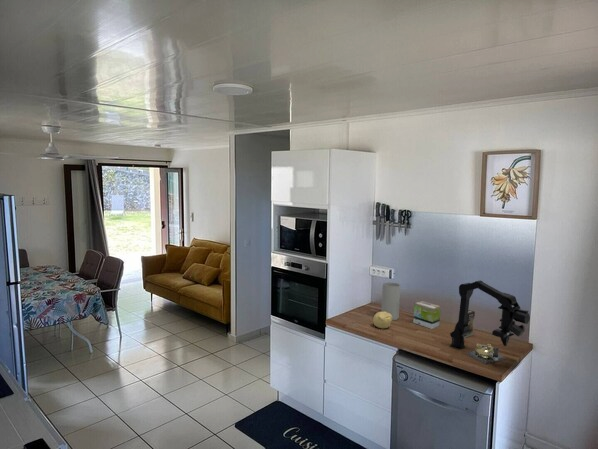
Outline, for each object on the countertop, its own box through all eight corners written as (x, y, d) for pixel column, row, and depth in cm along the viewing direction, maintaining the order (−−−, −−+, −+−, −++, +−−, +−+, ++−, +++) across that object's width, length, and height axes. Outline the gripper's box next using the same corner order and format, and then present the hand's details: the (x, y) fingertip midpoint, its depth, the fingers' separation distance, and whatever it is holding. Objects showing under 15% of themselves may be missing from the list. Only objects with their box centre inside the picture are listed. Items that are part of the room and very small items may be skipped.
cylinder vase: (383, 314, 303) (385, 281, 301) (400, 317, 298) (402, 283, 295) (379, 319, 292) (380, 285, 289) (396, 322, 287) (398, 287, 284)
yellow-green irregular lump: (471, 350, 236) (472, 336, 235) (490, 350, 236) (491, 337, 236) (486, 363, 219) (487, 348, 218) (506, 363, 219) (507, 349, 218)
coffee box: (465, 338, 260) (467, 313, 258) (456, 334, 265) (458, 310, 263) (473, 335, 265) (475, 311, 263) (464, 332, 270) (466, 308, 268)
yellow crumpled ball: (382, 331, 268) (383, 315, 266) (369, 325, 277) (370, 310, 276) (394, 328, 274) (395, 312, 273) (381, 322, 284) (381, 307, 283)
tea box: (412, 323, 285) (413, 302, 283) (420, 320, 292) (421, 300, 290) (432, 329, 274) (433, 308, 272) (439, 326, 280) (441, 305, 279)
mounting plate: (466, 354, 234) (467, 352, 233) (484, 350, 240) (485, 348, 240) (486, 364, 222) (486, 361, 222) (504, 359, 229) (504, 356, 228)
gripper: (513, 326, 208) (511, 355, 210) (531, 319, 219) (528, 347, 221) (492, 319, 217) (490, 347, 219) (510, 313, 228) (507, 340, 230)
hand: (505, 345), depth 222 cm, fingers closed
